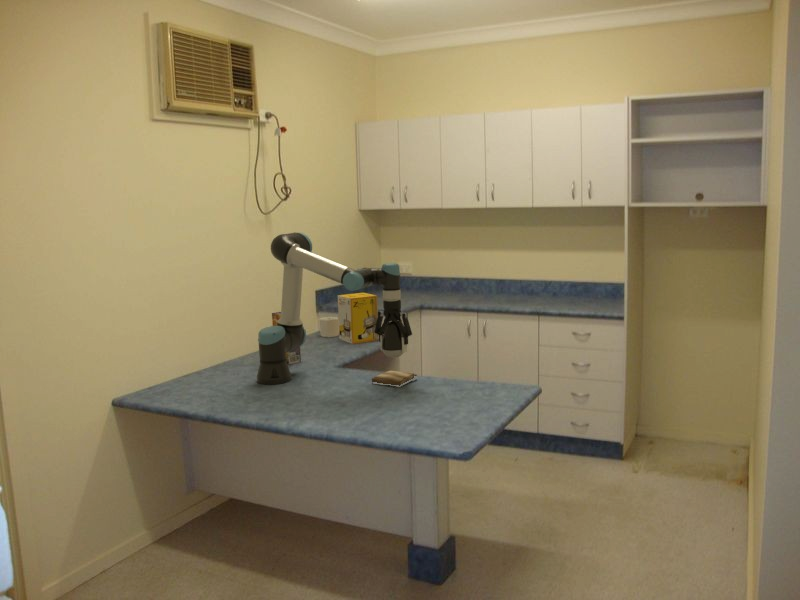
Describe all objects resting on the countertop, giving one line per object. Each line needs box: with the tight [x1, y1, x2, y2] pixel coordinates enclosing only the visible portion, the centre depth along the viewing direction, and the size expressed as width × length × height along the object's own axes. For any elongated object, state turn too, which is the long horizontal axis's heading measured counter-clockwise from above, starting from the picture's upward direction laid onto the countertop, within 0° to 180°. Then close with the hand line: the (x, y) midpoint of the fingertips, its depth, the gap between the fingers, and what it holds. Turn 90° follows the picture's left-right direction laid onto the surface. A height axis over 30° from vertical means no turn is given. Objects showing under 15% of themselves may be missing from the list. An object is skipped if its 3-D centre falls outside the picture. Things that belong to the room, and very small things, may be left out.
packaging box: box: [337, 292, 379, 345], centre depth 405 cm, size 16×16×25 cm
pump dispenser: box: [382, 321, 404, 358], centre depth 312 cm, size 10×10×15 cm
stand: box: [371, 369, 418, 386], centre depth 315 cm, size 14×14×3 cm
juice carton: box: [271, 311, 302, 365], centre depth 358 cm, size 12×8×24 cm, turn 43°
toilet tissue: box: [319, 316, 339, 338], centre depth 420 cm, size 11×12×10 cm
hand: (393, 350), depth 313 cm, fingers closed on pump dispenser, 10 cm apart
